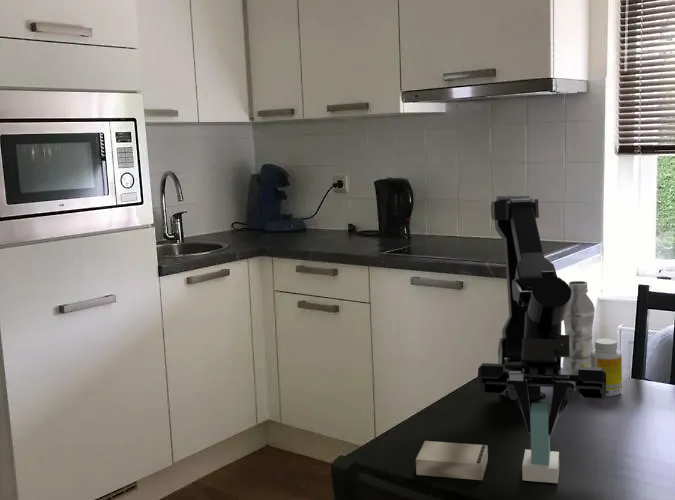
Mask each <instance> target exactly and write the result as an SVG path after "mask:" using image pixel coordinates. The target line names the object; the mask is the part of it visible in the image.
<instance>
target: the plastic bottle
mask: <svg viewBox="0 0 675 500" xmlns="http://www.w3.org/2000/svg"><path fill="white" fill-rule="evenodd" d="M568 286H569V287H570V288H571V297H570V301H569V304H568V307H567V311H566V314H565V317H564V320H563V325H564V335H569V336H570V357H569V358H567V357H562V358H563V360H562V369H563V373H564V375H578V367H591V352H592V350H594V347H593V328H594V327H593V326H594V325H593V324H594V319H595V310H596V309H595V306H594V303H593V301H592V299H591V298H590V297H589V296H588V295H587V293H588V291H589V289H588V282H587V281H583V280H572V281H569V282H568Z"/></svg>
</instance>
